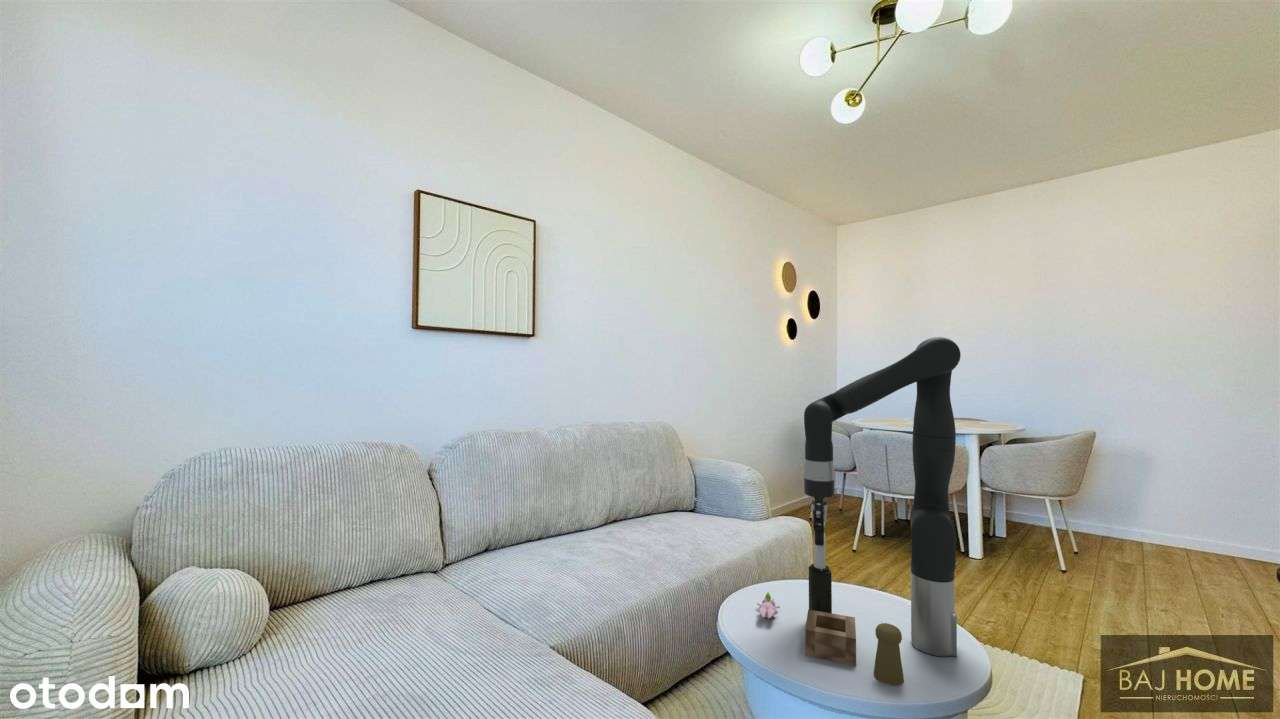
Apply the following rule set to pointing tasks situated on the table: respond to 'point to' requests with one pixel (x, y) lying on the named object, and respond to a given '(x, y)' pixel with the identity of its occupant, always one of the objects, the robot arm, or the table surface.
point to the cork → (888, 655)
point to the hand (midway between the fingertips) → (819, 542)
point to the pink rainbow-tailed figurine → (767, 607)
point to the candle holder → (830, 637)
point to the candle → (820, 581)
